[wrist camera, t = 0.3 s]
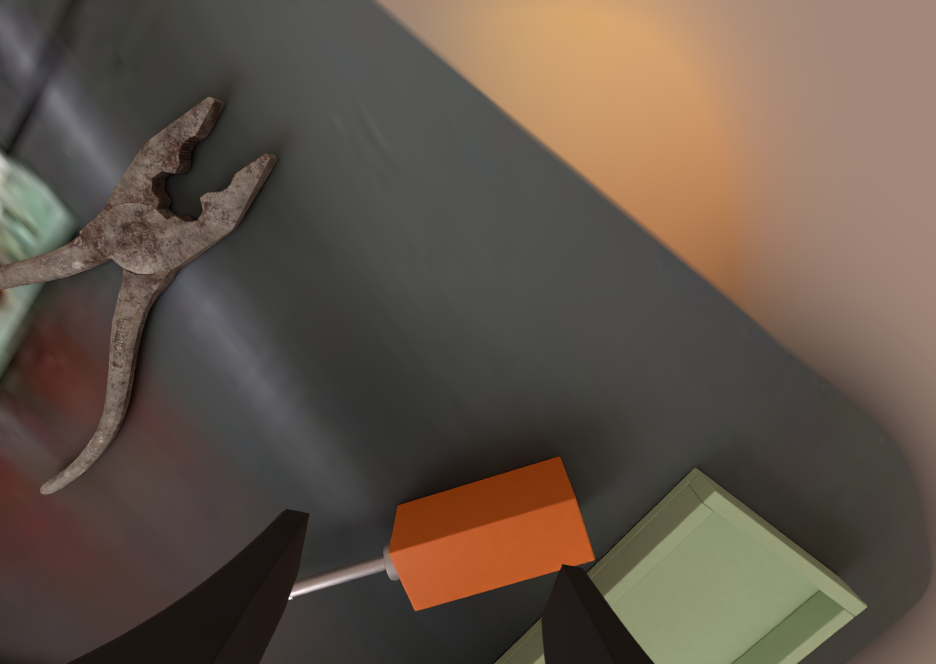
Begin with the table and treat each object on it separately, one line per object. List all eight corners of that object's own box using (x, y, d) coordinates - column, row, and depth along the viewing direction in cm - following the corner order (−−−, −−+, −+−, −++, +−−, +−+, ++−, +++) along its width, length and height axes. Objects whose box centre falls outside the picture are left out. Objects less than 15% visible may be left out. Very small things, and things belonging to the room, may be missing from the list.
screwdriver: (559, 455, 24) (576, 498, 20) (577, 511, 25) (595, 560, 21) (272, 542, 25) (244, 596, 22) (300, 592, 26) (277, 651, 22)
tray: (594, 779, 30) (604, 820, 28) (454, 702, 28) (454, 739, 26) (838, 576, 26) (868, 606, 24) (694, 466, 24) (715, 490, 22)
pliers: (-148, 400, 21) (34, -30, 17) (-125, 392, 22) (54, -20, 18) (66, 511, 23) (280, 148, 18) (79, 499, 24) (288, 149, 19)
